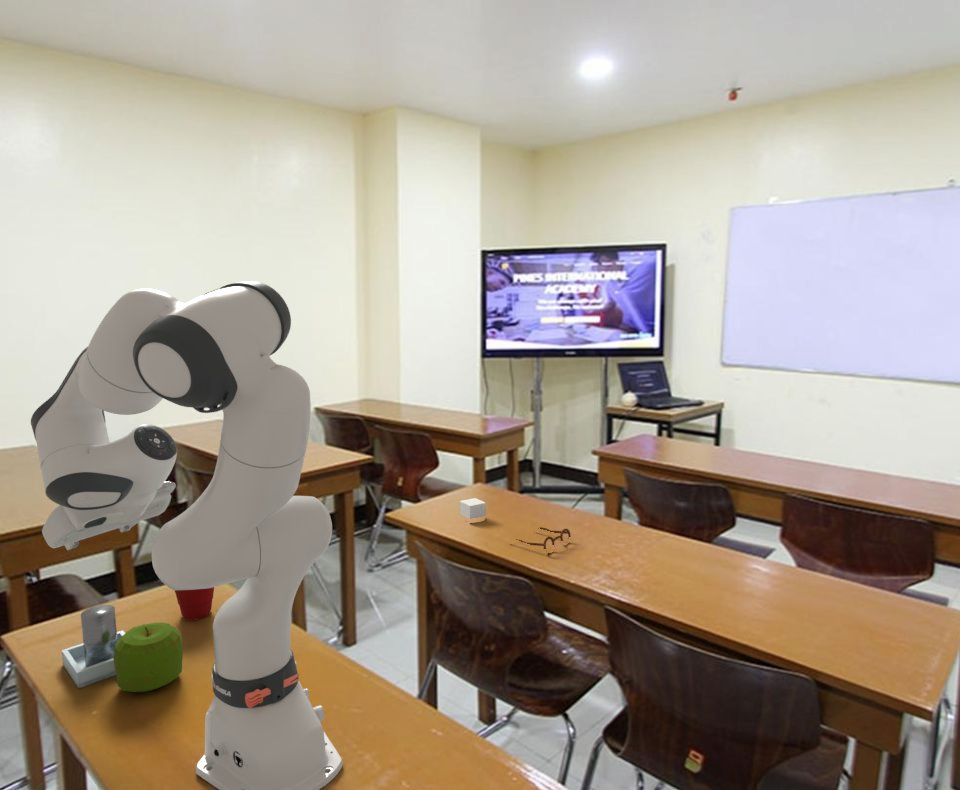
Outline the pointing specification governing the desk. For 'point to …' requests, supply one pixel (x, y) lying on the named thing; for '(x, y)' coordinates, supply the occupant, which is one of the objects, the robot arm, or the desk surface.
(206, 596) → the plastic cup
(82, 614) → the tin
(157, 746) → the desk surface
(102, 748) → the desk surface
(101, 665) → the tray
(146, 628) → the apple
